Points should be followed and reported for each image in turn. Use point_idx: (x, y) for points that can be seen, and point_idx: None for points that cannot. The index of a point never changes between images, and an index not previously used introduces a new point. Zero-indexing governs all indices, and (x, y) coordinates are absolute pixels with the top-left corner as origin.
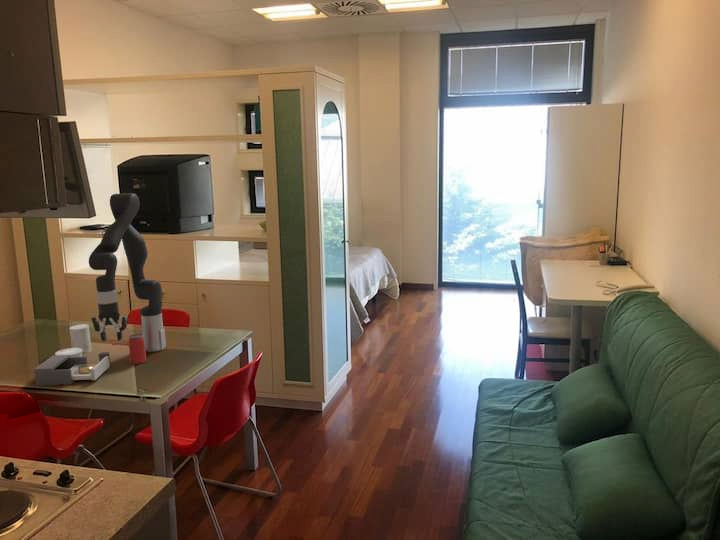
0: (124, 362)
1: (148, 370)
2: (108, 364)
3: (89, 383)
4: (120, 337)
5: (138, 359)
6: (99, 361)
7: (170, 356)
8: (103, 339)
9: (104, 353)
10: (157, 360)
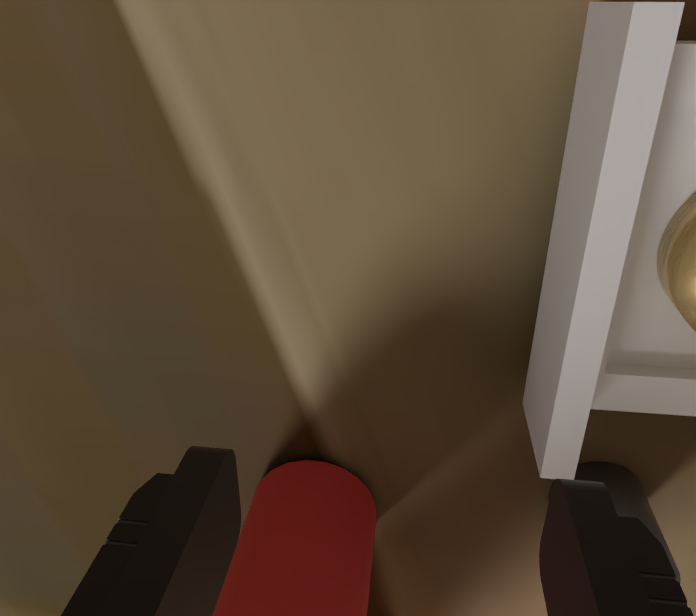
0: (432, 505)
1: (143, 304)
2: (530, 399)
3: None
4: (141, 509)
5: (284, 484)
6: (649, 507)
7: None
8: (584, 505)
9: None
10: None
